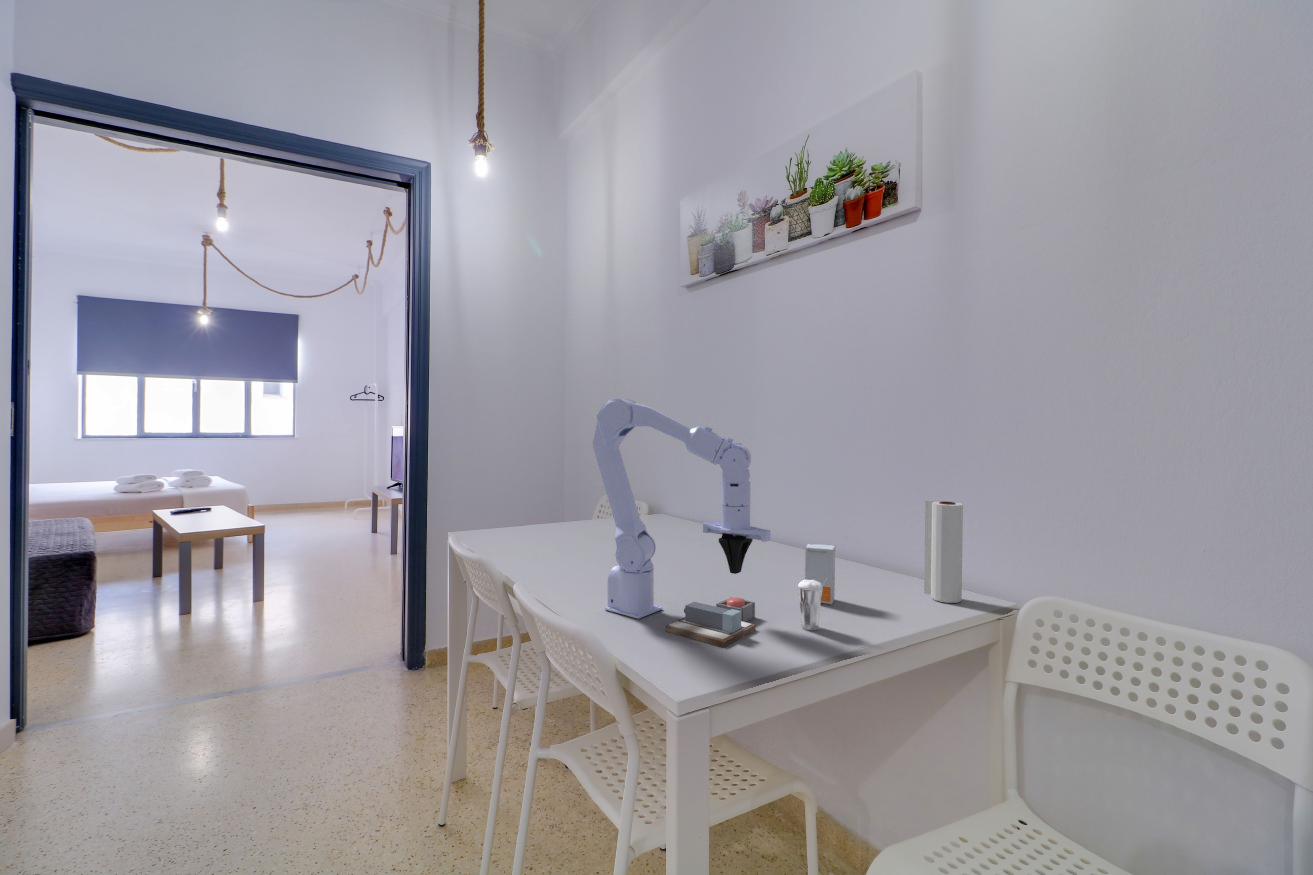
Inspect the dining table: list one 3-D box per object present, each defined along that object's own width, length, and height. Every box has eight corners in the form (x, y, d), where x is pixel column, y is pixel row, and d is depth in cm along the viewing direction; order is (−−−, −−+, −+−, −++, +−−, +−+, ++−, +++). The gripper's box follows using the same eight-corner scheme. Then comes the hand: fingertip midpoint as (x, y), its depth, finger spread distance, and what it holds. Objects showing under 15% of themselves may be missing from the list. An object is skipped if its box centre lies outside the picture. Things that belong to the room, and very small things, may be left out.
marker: (680, 619, 116) (680, 603, 116) (690, 615, 119) (690, 599, 118) (732, 632, 109) (731, 615, 109) (741, 628, 111) (741, 610, 111)
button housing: (716, 618, 120) (716, 603, 120) (731, 611, 125) (731, 596, 125) (740, 624, 117) (740, 609, 117) (755, 616, 121) (755, 602, 121)
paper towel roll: (966, 604, 129) (968, 504, 128) (937, 603, 129) (939, 504, 128) (951, 593, 136) (952, 499, 135) (924, 593, 136) (925, 499, 135)
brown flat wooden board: (665, 630, 114) (665, 624, 113) (699, 615, 122) (699, 609, 122) (723, 647, 105) (723, 640, 105) (755, 629, 114) (755, 623, 114)
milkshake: (822, 634, 111) (822, 580, 111) (794, 629, 114) (794, 576, 114) (829, 627, 115) (830, 575, 115) (802, 622, 118) (802, 571, 118)
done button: (723, 615, 120) (723, 600, 120) (732, 610, 123) (732, 596, 123) (738, 619, 118) (738, 604, 118) (748, 614, 121) (748, 599, 121)
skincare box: (804, 601, 131) (804, 547, 130) (807, 596, 135) (807, 543, 134) (833, 604, 128) (833, 549, 128) (835, 599, 132) (835, 545, 132)
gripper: (694, 503, 121) (694, 570, 122) (757, 510, 112) (757, 583, 113) (713, 499, 127) (713, 563, 127) (775, 506, 118) (775, 575, 118)
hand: (735, 572), depth 120 cm, fingers closed
